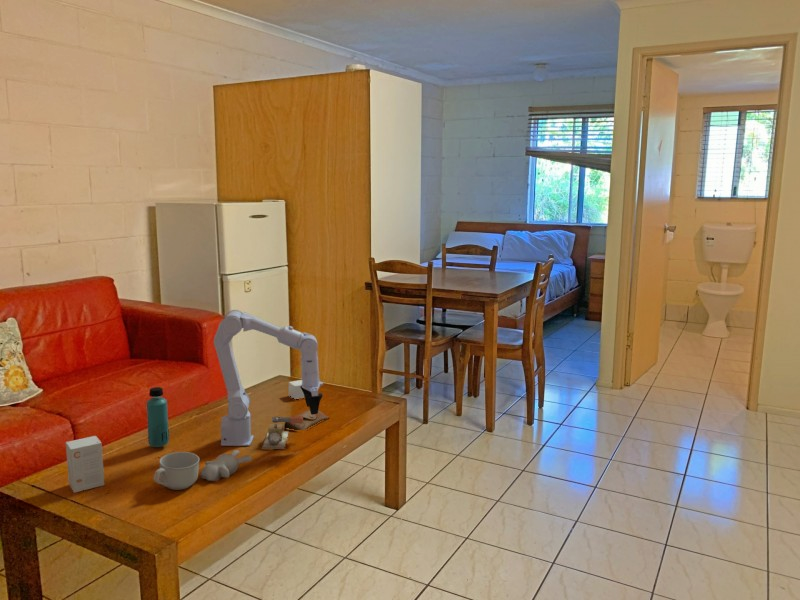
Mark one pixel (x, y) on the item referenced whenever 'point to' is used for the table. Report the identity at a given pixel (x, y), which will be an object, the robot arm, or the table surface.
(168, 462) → the teacup
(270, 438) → the valve pipe
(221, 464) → the bunny figurine
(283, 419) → the valve lever
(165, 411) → the beverage bottle
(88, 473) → the small box
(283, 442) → the mounting board
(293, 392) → the white cube
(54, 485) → the table surface
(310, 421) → the sunglasses case
